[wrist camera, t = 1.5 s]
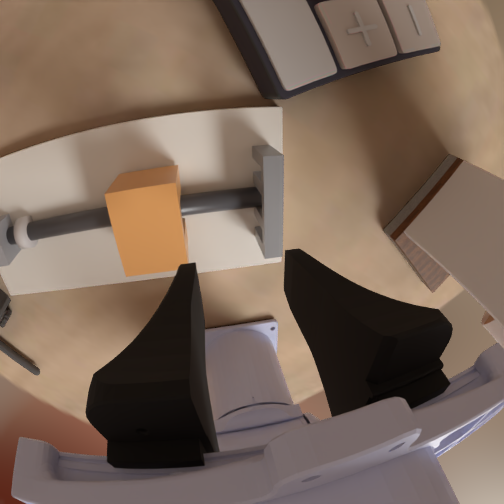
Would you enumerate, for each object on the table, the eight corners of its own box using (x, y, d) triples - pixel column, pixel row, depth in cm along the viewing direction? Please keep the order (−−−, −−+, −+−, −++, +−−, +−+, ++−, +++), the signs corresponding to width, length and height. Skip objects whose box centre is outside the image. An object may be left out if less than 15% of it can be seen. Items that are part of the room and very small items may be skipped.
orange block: (188, 238, 21) (188, 268, 18) (134, 245, 20) (126, 276, 17) (178, 164, 18) (175, 182, 15) (119, 174, 18) (104, 194, 14)
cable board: (277, 255, 25) (293, 285, 21) (14, 289, 21) (-2, 318, 18) (278, 106, 19) (298, 110, 15) (-28, 169, 15) (-57, 187, 11)
